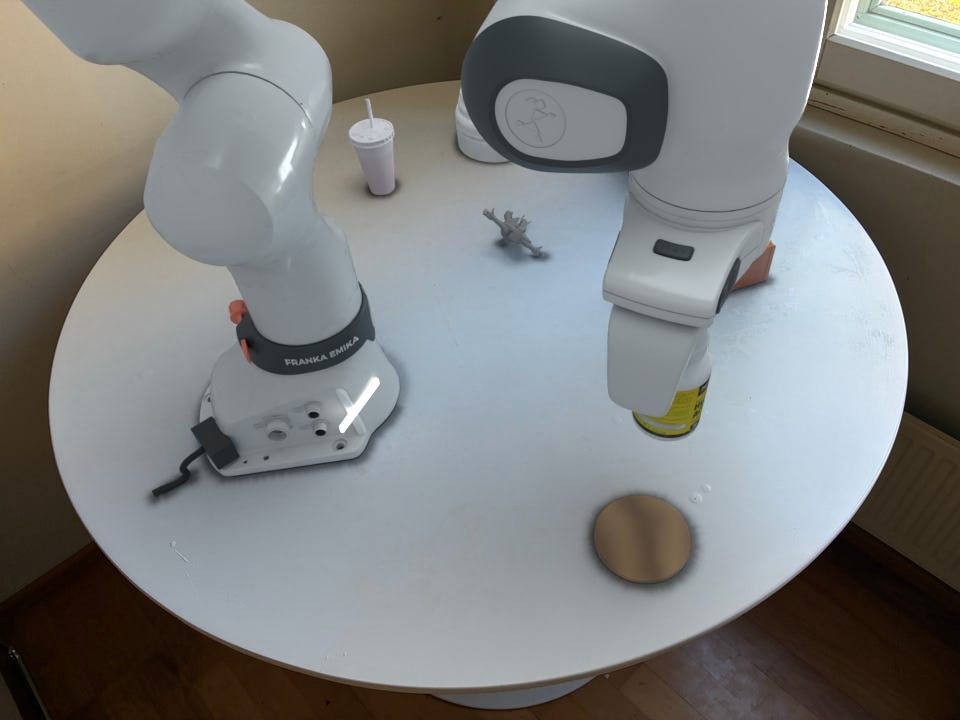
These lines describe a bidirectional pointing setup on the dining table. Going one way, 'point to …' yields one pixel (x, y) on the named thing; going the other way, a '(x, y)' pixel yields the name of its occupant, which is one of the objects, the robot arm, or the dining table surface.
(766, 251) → the box
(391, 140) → the smoothie
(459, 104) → the honey pot
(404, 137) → the dining table surface
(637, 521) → the coaster
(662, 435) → the supplement bottle
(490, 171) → the dining table surface
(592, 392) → the dining table surface
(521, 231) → the grey creature figurine
